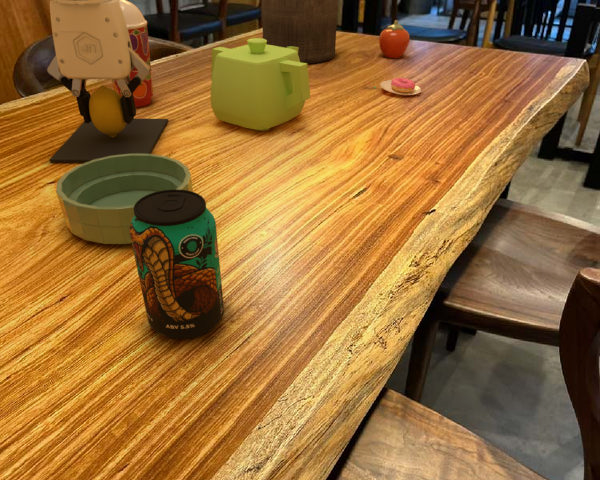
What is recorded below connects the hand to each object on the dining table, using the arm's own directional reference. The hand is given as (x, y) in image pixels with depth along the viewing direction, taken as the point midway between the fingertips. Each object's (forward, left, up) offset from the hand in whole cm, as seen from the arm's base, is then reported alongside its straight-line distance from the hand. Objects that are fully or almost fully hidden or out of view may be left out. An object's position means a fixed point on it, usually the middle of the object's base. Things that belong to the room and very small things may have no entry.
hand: (109, 119), depth 84 cm
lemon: (0, 0, -3) cm, 3 cm away
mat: (0, 0, -3) cm, 3 cm away
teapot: (+24, +12, -4) cm, 27 cm away
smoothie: (-1, +19, -4) cm, 19 cm away
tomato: (+53, +57, -4) cm, 78 cm away
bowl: (+9, -25, -3) cm, 27 cm away
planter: (+30, +57, -4) cm, 65 cm away
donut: (+49, +28, -4) cm, 57 cm away
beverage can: (+19, -45, -4) cm, 49 cm away
